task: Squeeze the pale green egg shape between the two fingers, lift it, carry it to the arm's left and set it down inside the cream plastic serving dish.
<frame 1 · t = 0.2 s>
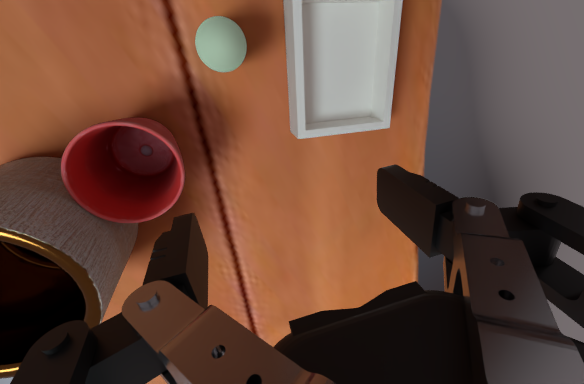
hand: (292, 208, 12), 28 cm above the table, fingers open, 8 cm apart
serving dish: (334, 66, 38), on the table
flower pot: (146, 147, 36), on the table
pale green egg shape: (219, 46, 33), on the table
planter: (66, 217, 38), on the table
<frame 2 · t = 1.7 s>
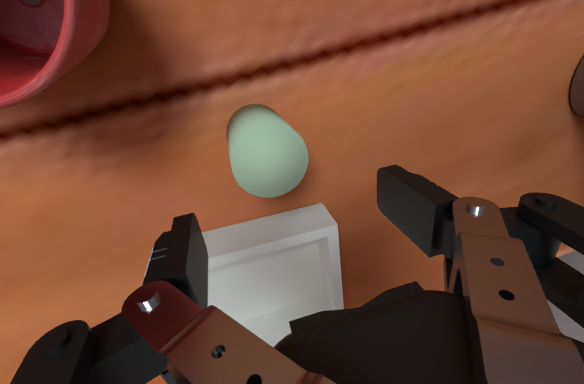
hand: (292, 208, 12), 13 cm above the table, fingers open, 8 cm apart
serving dish: (255, 273, 30), on the table
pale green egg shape: (256, 133, 23), on the table
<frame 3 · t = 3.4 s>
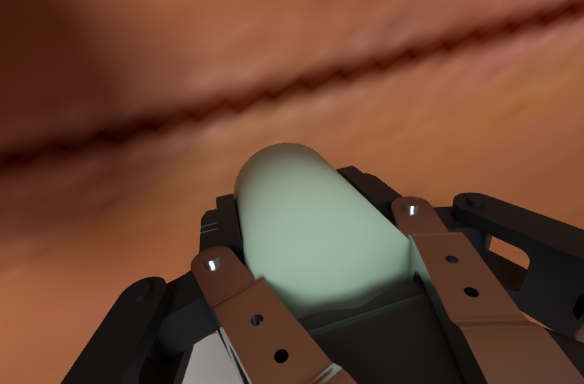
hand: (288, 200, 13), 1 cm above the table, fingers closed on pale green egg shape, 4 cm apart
serving dish: (273, 381, 20), on the table
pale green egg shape: (284, 191, 14), on the table, touching gripper
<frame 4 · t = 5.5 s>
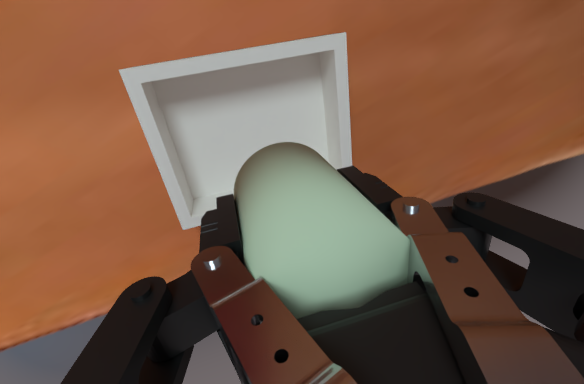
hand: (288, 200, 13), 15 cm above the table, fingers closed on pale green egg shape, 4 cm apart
serving dish: (251, 127, 26), on the table
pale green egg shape: (284, 190, 14), point 15 cm above the table, touching gripper
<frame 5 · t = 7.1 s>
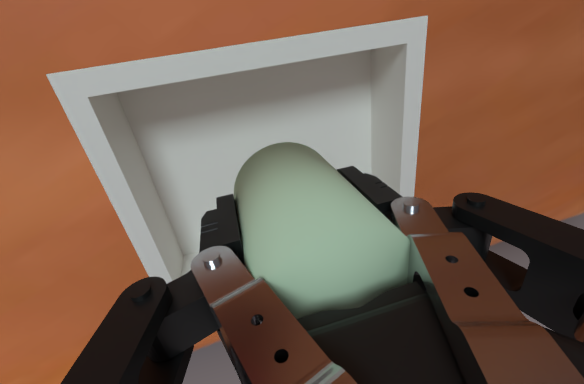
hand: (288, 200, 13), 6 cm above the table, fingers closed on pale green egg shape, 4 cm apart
serving dish: (267, 155, 18), on the table
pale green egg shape: (284, 190, 14), point 5 cm above the table, touching gripper
when the fingers open (4 cm above the table, at t = 8.1 s): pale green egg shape drops 2 cm, resting on serving dish.
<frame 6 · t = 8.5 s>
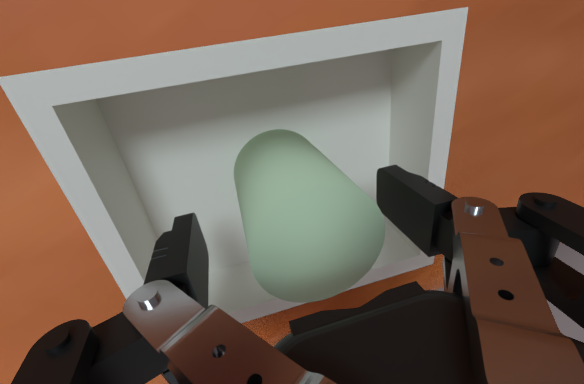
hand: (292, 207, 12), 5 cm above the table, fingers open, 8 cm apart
serving dish: (272, 169, 16), on the table
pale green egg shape: (277, 172, 16), point 1 cm above the table, touching serving dish
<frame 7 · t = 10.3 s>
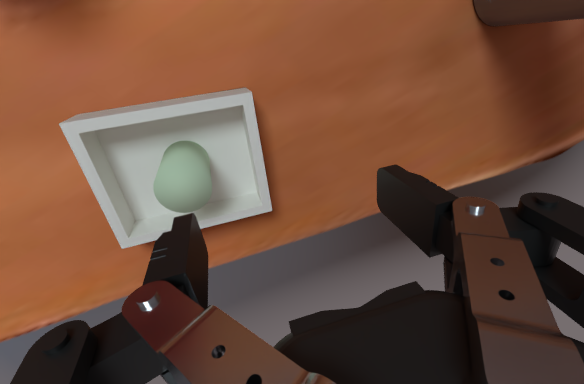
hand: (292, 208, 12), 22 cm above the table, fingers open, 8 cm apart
serving dish: (185, 160, 31), on the table
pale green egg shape: (186, 162, 31), point 1 cm above the table, touching serving dish
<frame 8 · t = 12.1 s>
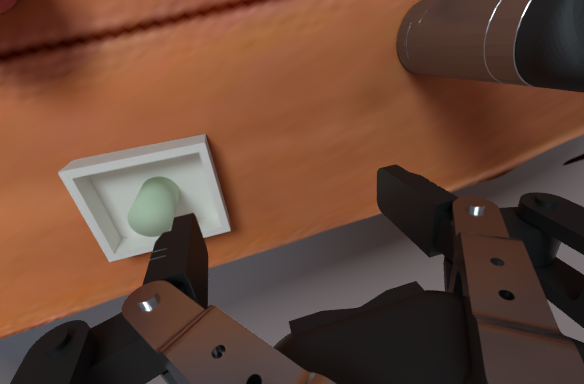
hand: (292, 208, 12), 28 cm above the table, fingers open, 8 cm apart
serving dish: (159, 191, 39), on the table
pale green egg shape: (160, 192, 38), point 1 cm above the table, touching serving dish
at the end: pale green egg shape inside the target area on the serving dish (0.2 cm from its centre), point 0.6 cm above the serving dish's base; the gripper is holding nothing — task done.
